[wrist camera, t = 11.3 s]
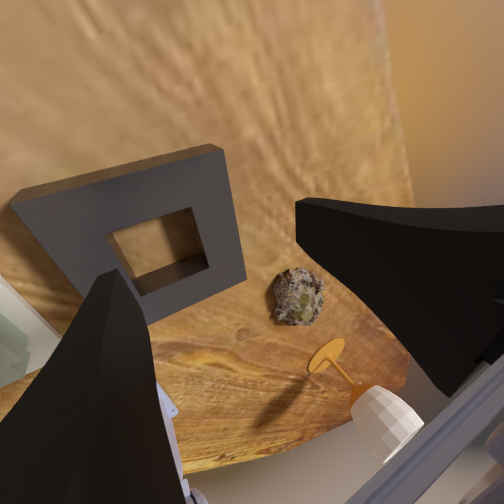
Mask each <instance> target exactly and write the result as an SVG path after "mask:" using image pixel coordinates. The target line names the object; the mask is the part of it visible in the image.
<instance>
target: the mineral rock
mask: <svg viewBox="0 0 504 504" xmlns="http://www.w3.org/2000/svg"><path fill="white" fill-rule="evenodd" d="M323 283H324V280H323V279H322V278H320V277H318V276H317V275H316V274H315V273H312V272H311V271H306V269H305V268H298V269H297V270H291V269H288V271H287V272H286V273H285V274H282V273H281V274H279V275H278V278H277V282H276V283H275V284H274V286H273V293H274V297H275V298H276V301H277V305H276V308H275V309H274V310H273V312H274V317H276V318H277V321H278V320H285V324H287V325H289V326H291V325H293V326H296V325H311V324H312V323H314V322H315V321H316V320H317V319H318V314H319V313H320V311H321V310H322V304H323V297H324V296H323V295H322V292H321V291H322V290H324V286H323V285H322V284H323Z"/></svg>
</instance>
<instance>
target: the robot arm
mask: <svg viewBox="0 0 504 504" xmlns="http://www.w3.org/2000/svg"><path fill="white" fill-rule="evenodd" d="M295 215H296V242H297V243H298V245H299V246H300V247H301V248H302V249H303V250H304V251H305V252H306V253H307V254H308V256H309V257H311V258H312V259H313V260H314V261H315V262H316V263H318V264H319V265H320V266H321V267H323V268H324V269H325V270H326V271H328V272H329V273H330V274H331V275H333V276H334V277H335V278H336V279H338V280H339V281H340V282H341V283H343V284H344V285H345V286H346V287H347V288H349V289H350V290H351V291H352V292H353V293H354V294H355V295H357V296H358V297H359V298H360V299H361V300H362V301H363V302H364V303H365V304H366V305H367V306H368V307H369V308H370V309H371V310H372V311H373V312H374V314H375V315H376V316H377V317H378V318H379V319H380V320H381V321H382V322H383V323H384V324H385V325H386V326H387V327H388V329H389V330H390V331H391V332H392V333H393V334H394V335H395V337H396V338H397V339H398V340H399V341H400V342H401V344H402V345H403V346H404V347H405V348H406V349H407V350H408V352H409V353H410V354H411V356H412V357H413V358H414V359H415V361H416V362H417V363H418V364H419V366H420V367H421V368H422V369H423V371H424V372H425V373H426V374H427V376H428V377H429V378H430V380H431V381H432V383H433V384H434V385H435V386H436V387H437V388H438V389H439V390H440V391H441V392H442V393H444V394H445V395H446V396H447V397H449V398H450V397H452V396H453V395H454V394H455V393H456V392H457V391H458V390H459V389H460V388H461V387H462V386H463V385H464V384H466V382H468V381H469V380H470V379H471V378H472V377H473V376H474V375H475V374H476V373H478V372H479V371H480V370H481V369H482V368H483V367H484V366H485V365H486V364H487V363H489V364H490V365H491V366H490V367H489V368H488V369H487V370H486V371H485V372H484V373H483V374H482V375H481V376H480V377H478V378H477V379H476V380H475V381H474V382H473V383H472V384H471V385H470V386H469V387H468V388H467V389H466V390H465V391H464V392H463V393H461V394H460V395H459V396H458V397H457V398H456V399H455V400H454V401H453V402H452V403H451V404H450V405H449V406H448V407H446V408H445V409H444V410H443V411H442V412H441V413H440V414H439V415H438V416H437V417H436V418H435V419H434V420H433V421H432V422H431V423H429V424H428V425H427V426H426V427H425V428H424V429H423V430H422V431H421V432H420V433H419V434H418V435H417V436H416V437H415V438H413V440H412V441H410V442H409V443H408V444H407V445H406V446H405V447H404V448H403V449H402V450H401V451H400V452H398V454H396V455H395V456H394V457H393V458H392V459H391V460H390V461H389V462H388V463H387V464H386V465H385V466H384V467H383V468H381V470H379V471H378V472H377V473H376V474H375V475H374V476H373V477H372V478H371V479H370V480H369V481H368V482H367V483H366V484H364V485H363V486H362V487H361V488H360V489H359V490H358V491H357V492H356V493H355V494H354V495H353V496H352V497H350V498H349V499H348V500H347V501H346V502H345V503H344V504H414V503H415V502H416V501H417V500H418V499H419V498H420V497H421V496H422V495H423V494H424V493H425V492H426V490H427V489H428V488H429V487H430V486H431V485H432V484H433V483H434V482H435V481H436V480H437V479H438V478H439V477H440V475H441V474H442V473H443V472H444V471H445V470H446V469H447V468H448V467H449V466H450V465H451V464H452V463H453V461H454V460H455V459H456V458H457V457H458V456H459V455H460V454H461V453H462V452H463V451H464V450H465V449H466V447H468V445H469V444H470V443H471V442H472V441H473V440H474V439H475V438H476V437H477V436H478V435H479V434H480V433H481V432H482V431H483V429H484V428H485V427H486V426H487V425H488V424H489V423H490V422H491V421H492V420H493V419H494V418H495V417H496V416H497V414H498V413H499V412H500V411H501V410H502V409H503V408H504V205H495V206H482V207H467V208H466V207H465V208H405V207H390V206H379V205H370V204H362V203H354V202H347V201H339V200H332V199H323V198H304V199H302V200H299V201H296V202H295ZM177 414H178V409H177V408H176V406H175V405H174V404H173V402H172V401H171V400H170V398H169V397H168V396H167V394H166V393H165V392H164V390H163V389H162V388H161V386H160V385H159V384H158V382H157V381H156V377H155V370H154V363H153V356H152V349H151V343H150V336H149V331H148V328H147V324H146V321H145V317H144V314H143V311H142V308H141V307H140V305H139V303H138V302H137V300H136V298H135V297H134V295H133V293H132V292H131V290H130V288H129V287H128V285H127V283H126V282H125V280H124V278H123V277H122V275H121V273H120V272H119V270H118V268H117V269H115V270H112V271H109V272H107V273H104V274H101V275H99V276H97V278H96V280H95V281H94V283H93V285H92V287H91V289H90V291H89V293H88V294H87V296H86V298H85V300H84V302H83V304H82V305H81V307H80V309H79V311H78V312H77V314H76V316H75V318H74V320H73V321H72V323H71V325H70V326H69V328H68V330H67V331H66V333H65V334H64V336H63V337H62V339H61V341H60V342H59V344H58V345H57V347H56V348H55V350H54V352H53V353H52V355H51V356H50V358H49V359H48V361H47V362H46V364H45V365H44V366H43V368H42V369H41V371H40V372H39V373H38V375H37V376H36V378H35V379H34V380H33V382H32V383H31V384H30V385H29V387H28V388H27V389H26V391H25V392H24V393H23V395H22V396H21V397H20V399H19V400H18V401H17V403H16V404H15V405H14V406H13V408H12V409H11V410H10V411H9V413H8V414H7V415H6V416H5V417H4V418H3V420H2V421H1V422H0V504H208V502H207V499H206V498H205V496H204V495H203V494H202V493H200V492H199V491H198V489H196V488H191V489H189V486H188V481H187V479H184V480H182V477H183V468H182V462H181V458H180V454H179V449H178V445H177V440H176V436H175V432H174V427H173V423H172V419H171V418H172V417H174V416H176V415H177ZM484 449H485V451H486V452H487V453H488V454H489V455H490V456H491V457H493V458H494V459H495V460H496V461H497V463H496V464H495V465H494V466H493V467H492V468H491V469H490V470H489V471H488V472H487V473H486V474H485V475H484V476H483V477H482V478H481V479H480V480H479V481H478V482H477V483H476V484H475V485H474V487H472V489H471V490H470V491H469V492H468V493H467V494H466V495H465V496H464V497H463V498H462V499H461V500H460V501H459V502H458V503H457V504H504V422H503V423H501V424H500V425H499V426H498V427H497V428H496V429H495V430H494V431H493V432H492V434H491V435H490V437H489V438H488V440H487V442H486V443H485V445H484Z"/></svg>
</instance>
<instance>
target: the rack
mask: <svg viewBox="0 0 504 504" xmlns="http://www.w3.org/2000/svg"><path fill="white" fill-rule="evenodd" d="M61 339H62V336H61V335H60V334H59V333H58V332H57V331H56V330H55V329H54V328H53V327H52V326H51V325H50V324H49V323H48V322H47V321H46V320H45V319H44V318H43V317H42V316H41V315H40V314H39V313H38V312H37V311H36V310H35V309H34V308H33V307H32V306H31V305H30V304H29V303H28V302H27V301H26V300H25V299H24V298H23V297H22V296H21V295H20V294H19V293H18V292H17V291H16V290H15V289H14V288H13V287H12V286H11V285H10V284H9V283H8V282H7V281H6V280H5V279H4V278H3V277H2V276H1V275H0V388H1V387H4V386H6V385H8V384H10V383H12V382H15V381H17V380H19V379H21V378H23V377H25V375H26V374H28V373H30V372H33V371H35V370H37V369H39V368H41V367H43V366H44V365H45V364H46V362H47V361H48V359H49V358H50V356H51V355H52V353H53V352H54V350H55V348H56V347H57V345H58V344H59V342H60V341H61Z"/></svg>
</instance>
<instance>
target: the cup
mask: <svg viewBox="0 0 504 504" xmlns="http://www.w3.org/2000/svg"><path fill="white" fill-rule="evenodd" d="M344 345H345V343H344V340H343V339H341V338H336V339H333V340H331V341H329V342H327V343H326V344H325V345H323V346H322V347H321V348H320V349H319V350H318V351H317V352H316V353H315V354H314V355H313V357H312V358H311V360H310V362H309V365H308V370H309V372H311V373H316V372H319V371H322V370H323V369H325V368H327V367H328V366H329V365H330V364H331V365H332V366H333V367H334V368H335V369H336V370H337V372H338V373H339V374H340V375H341V376H342V377H343V378H344V380H345V381H346V382H347V383H348V384H349V385H350V387H351V388H352V395H351V398H350V411H351V414H352V417H353V420H354V423H355V425H356V427H357V429H358V431H359V433H360V435H361V437H362V438H363V440H364V442H365V443H366V445H367V446H368V448H369V449H370V450H371V452H372V453H373V454H374V455H375V456H376V457H377V458H378V459H379V460H380V461H381V462H382V463H385V462H386V461H387V460H389V459H390V458H391V457H392V456H393V455H394V454H395V453H396V452H398V451H399V450H400V449H401V448H402V447H403V446H404V445H405V444H406V443H407V442H408V441H409V440H410V439H411V438H412V437H413V436H414V434H416V433H417V432H418V431H419V429H420V428H421V427H422V426H423V425H424V422H423V421H422V420H421V419H420V417H419V416H418V415H417V414H416V413H415V411H414V410H413V409H412V408H411V407H409V406H408V405H407V404H406V403H405V402H404V401H403V400H402V399H400V398H399V397H397V396H396V395H395V394H393V393H392V392H390V391H388V390H386V389H384V388H382V387H380V386H378V385H369V384H364V385H360V386H357V385H355V384H354V383H353V382H352V381H351V379H350V378H349V377H348V376H347V375H346V374H345V373H344V372H343V370H342V369H341V368H340V367H339V366H338V365H337V364H336V363H335V360H336V358H337V357H338V356H339V355H340V353H341V352H342V350H343V348H344Z"/></svg>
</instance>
